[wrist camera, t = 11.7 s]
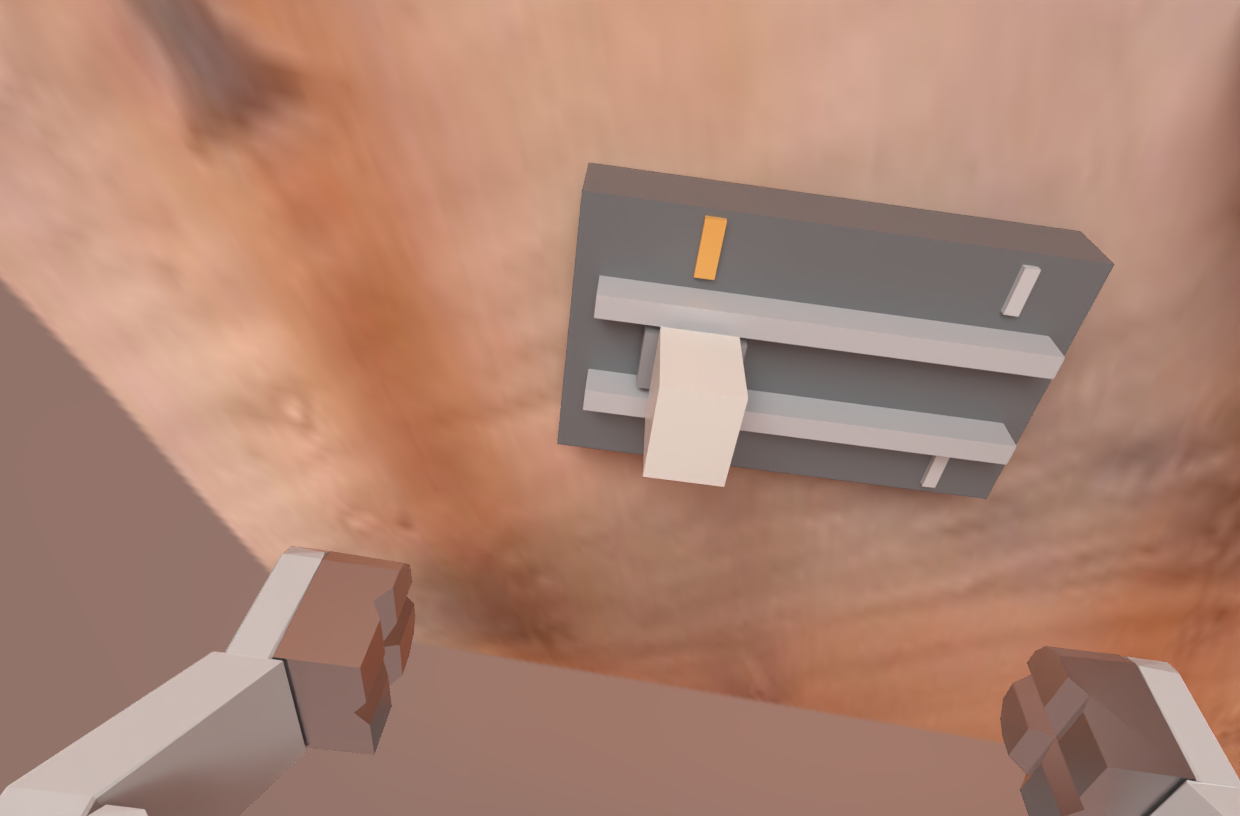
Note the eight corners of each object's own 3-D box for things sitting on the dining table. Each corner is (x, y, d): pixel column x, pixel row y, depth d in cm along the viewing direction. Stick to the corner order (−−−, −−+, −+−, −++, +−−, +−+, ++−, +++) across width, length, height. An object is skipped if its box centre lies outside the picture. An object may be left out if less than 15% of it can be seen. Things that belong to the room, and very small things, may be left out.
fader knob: (748, 315, 31) (763, 400, 26) (728, 396, 33) (737, 488, 29) (648, 301, 31) (644, 385, 26) (634, 384, 33) (629, 474, 29)
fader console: (1080, 231, 32) (1134, 284, 28) (966, 457, 39) (997, 523, 35) (588, 162, 31) (578, 207, 27) (564, 405, 38) (553, 466, 34)
